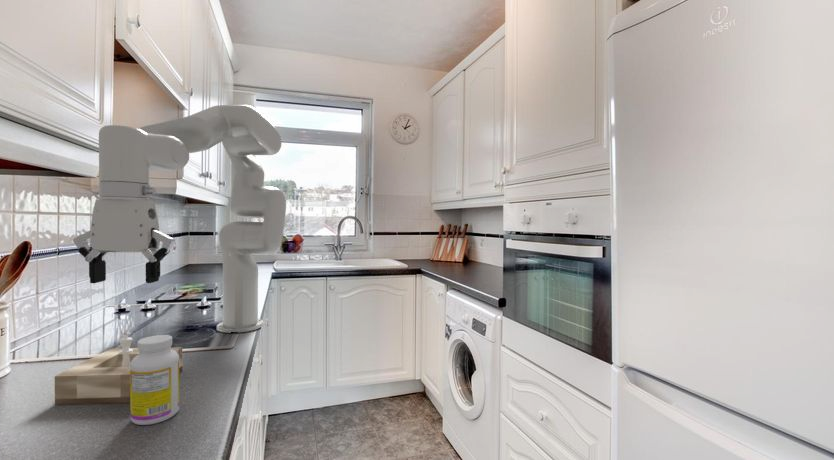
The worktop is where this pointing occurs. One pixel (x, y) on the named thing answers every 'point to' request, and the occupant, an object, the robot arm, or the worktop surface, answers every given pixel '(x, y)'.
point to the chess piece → (126, 348)
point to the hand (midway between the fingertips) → (125, 282)
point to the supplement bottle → (154, 381)
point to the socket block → (98, 379)
